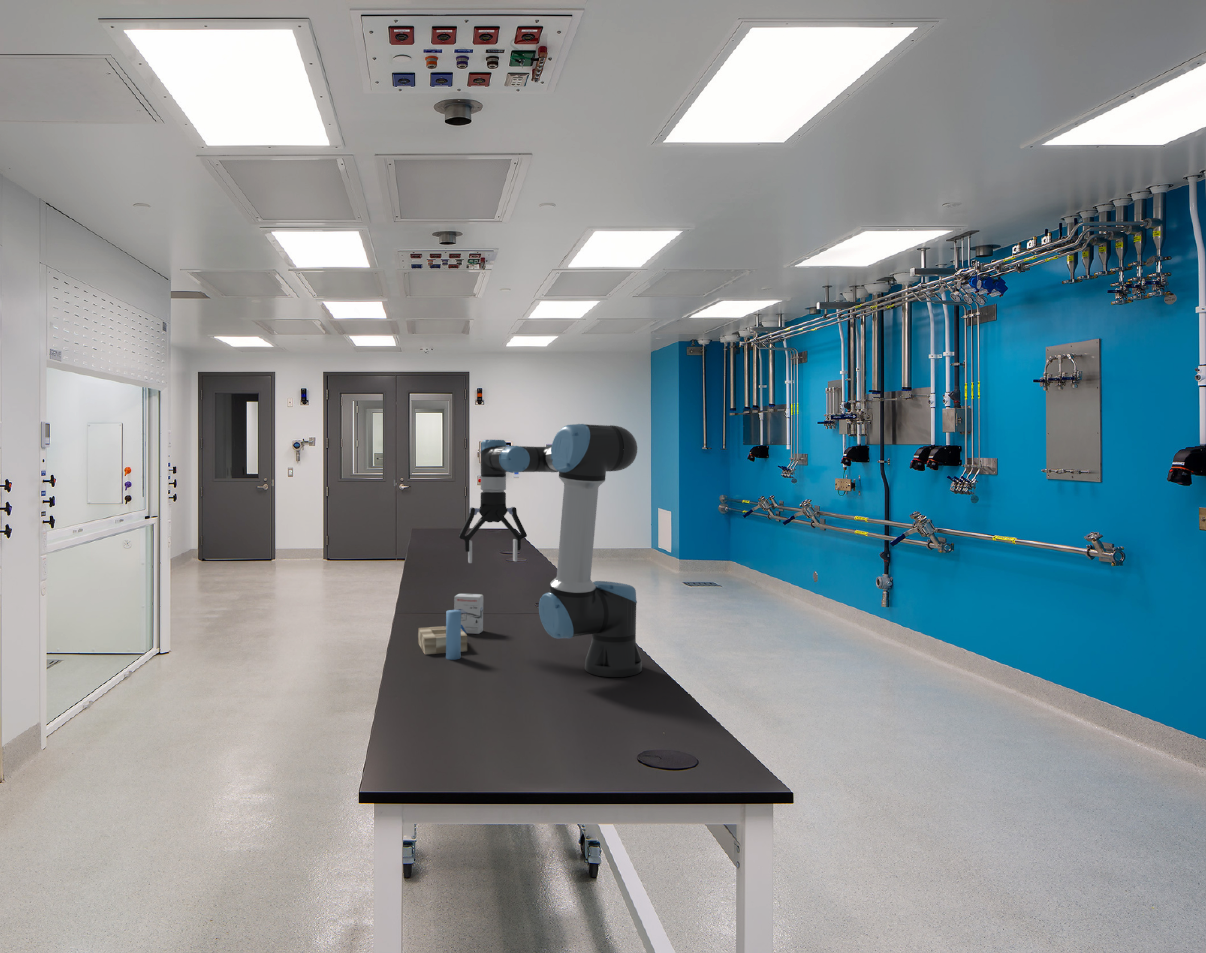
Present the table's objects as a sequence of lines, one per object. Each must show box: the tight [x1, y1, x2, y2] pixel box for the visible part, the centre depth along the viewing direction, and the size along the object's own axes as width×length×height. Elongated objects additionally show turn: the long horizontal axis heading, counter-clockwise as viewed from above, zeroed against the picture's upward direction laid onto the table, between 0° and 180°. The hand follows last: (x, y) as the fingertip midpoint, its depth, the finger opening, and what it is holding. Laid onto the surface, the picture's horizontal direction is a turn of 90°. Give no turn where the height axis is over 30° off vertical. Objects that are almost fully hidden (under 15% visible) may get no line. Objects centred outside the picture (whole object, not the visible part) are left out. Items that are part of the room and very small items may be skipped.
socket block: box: [417, 625, 468, 655], centre depth 227 cm, size 14×12×4 cm
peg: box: [445, 609, 462, 661], centre depth 215 cm, size 4×4×13 cm
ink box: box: [453, 593, 484, 635], centre depth 247 cm, size 9×5×12 cm, turn 84°
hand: (492, 562), depth 232 cm, fingers open, 13 cm apart
